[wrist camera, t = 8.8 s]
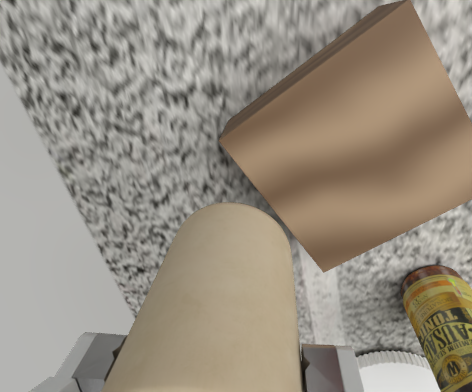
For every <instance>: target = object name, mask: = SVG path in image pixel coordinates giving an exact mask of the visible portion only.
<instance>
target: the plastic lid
mask: <svg viewBox="0 0 472 392" xmlns="http://www.w3.org/2000/svg"><path fill="white" fill-rule="evenodd" d="M356 361H357V365H358V368H359V372H360V376H361V380H362V384H363V388H364V392H441V391H440V389H439V387H438V384H437V382H436V379H435V377H434V375H433V372H432V370H431V368H430V365H429V363H428V361H427V360H426V358H425V357H423V358H422V357H421V356H420V355H419V356H417V355H416V354H411V353H406V352H400V351H397V352H395V351H386V352H383V351H380V352H375V353H372V352H371V353H369V354H364V355H363V356H362V355H360V356H359V357H356Z"/></svg>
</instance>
